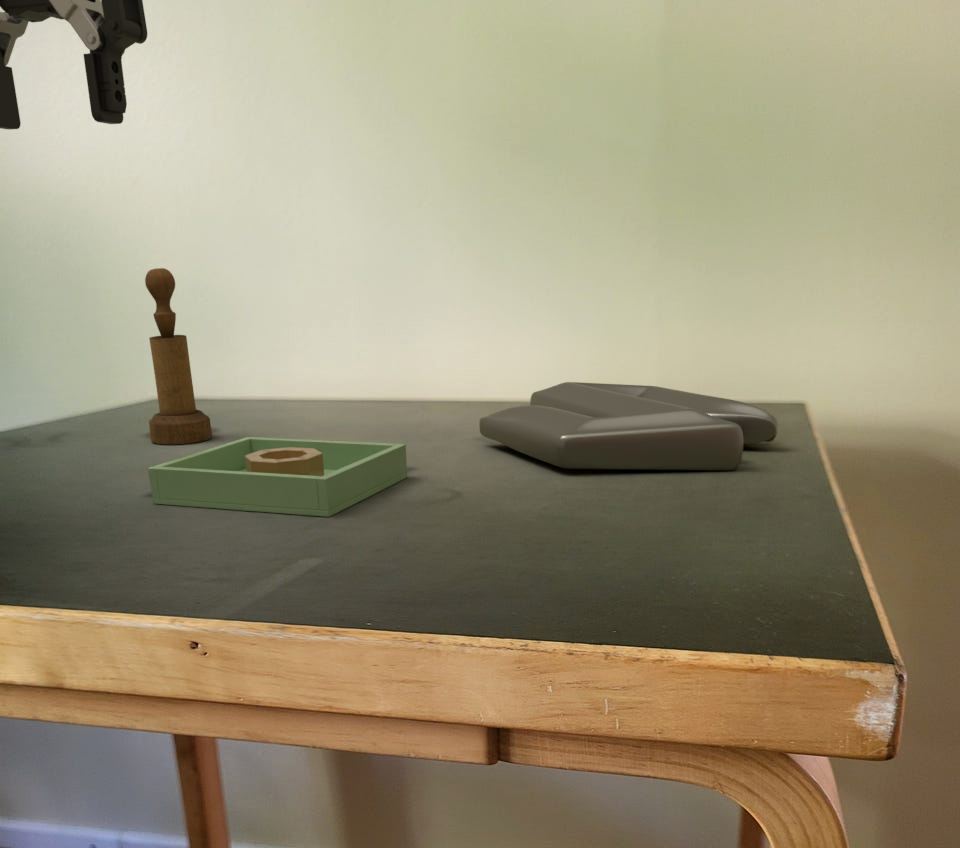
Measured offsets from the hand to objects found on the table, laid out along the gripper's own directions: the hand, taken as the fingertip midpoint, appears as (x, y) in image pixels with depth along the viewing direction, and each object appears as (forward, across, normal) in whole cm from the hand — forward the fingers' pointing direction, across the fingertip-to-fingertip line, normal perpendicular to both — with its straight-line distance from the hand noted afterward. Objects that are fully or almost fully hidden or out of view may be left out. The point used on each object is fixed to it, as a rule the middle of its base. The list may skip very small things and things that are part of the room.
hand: (56, 125), depth 64 cm
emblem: (+26, +31, +39) cm, 56 cm away
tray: (+27, +6, +14) cm, 31 cm away
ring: (+26, +6, +14) cm, 31 cm away
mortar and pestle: (+27, -18, +34) cm, 47 cm away
